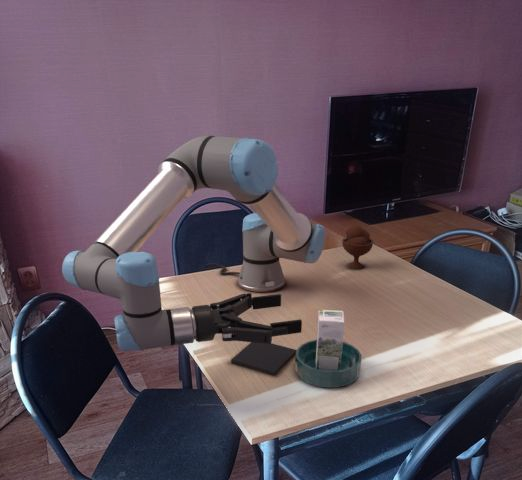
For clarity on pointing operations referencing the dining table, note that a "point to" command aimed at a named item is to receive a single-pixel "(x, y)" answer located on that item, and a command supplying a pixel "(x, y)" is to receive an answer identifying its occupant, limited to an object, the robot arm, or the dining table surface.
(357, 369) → the bowl
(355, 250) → the ice cream bowl
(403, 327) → the dining table surface
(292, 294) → the dining table surface
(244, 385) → the dining table surface
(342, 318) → the syrup box
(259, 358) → the mat
